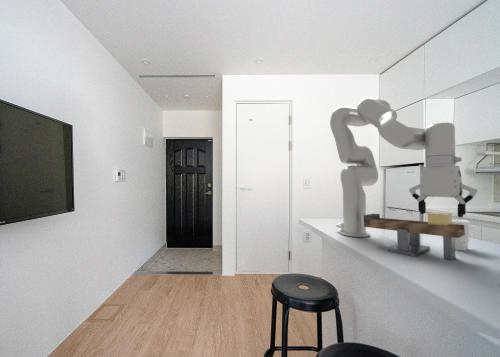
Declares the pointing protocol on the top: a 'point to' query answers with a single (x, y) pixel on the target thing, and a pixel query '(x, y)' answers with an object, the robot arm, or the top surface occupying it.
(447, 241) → the block
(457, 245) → the white cup
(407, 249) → the pivot stand
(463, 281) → the top surface
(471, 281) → the top surface
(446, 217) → the block
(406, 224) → the beam
